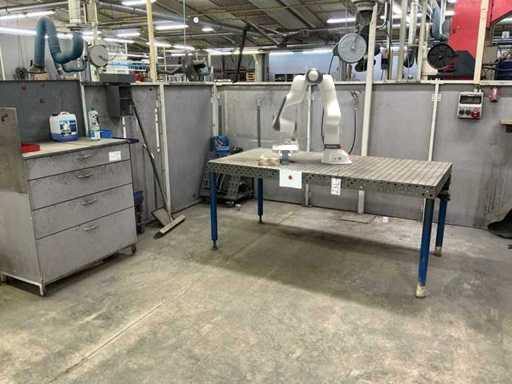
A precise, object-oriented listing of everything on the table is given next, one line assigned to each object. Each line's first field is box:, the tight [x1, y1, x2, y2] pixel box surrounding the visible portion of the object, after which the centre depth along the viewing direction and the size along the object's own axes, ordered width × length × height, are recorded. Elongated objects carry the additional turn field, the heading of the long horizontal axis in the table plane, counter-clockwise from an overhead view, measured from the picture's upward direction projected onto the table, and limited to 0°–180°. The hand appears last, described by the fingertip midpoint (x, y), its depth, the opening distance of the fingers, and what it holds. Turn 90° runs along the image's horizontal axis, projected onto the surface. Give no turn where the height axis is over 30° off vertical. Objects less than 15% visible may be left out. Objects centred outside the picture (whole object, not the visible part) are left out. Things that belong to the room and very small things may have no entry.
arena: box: [259, 155, 281, 167], centre depth 289 cm, size 14×14×5 cm
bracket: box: [281, 151, 290, 166], centre depth 290 cm, size 5×8×9 cm, turn 175°
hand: (285, 156), depth 292 cm, fingers closed on bracket, 5 cm apart
